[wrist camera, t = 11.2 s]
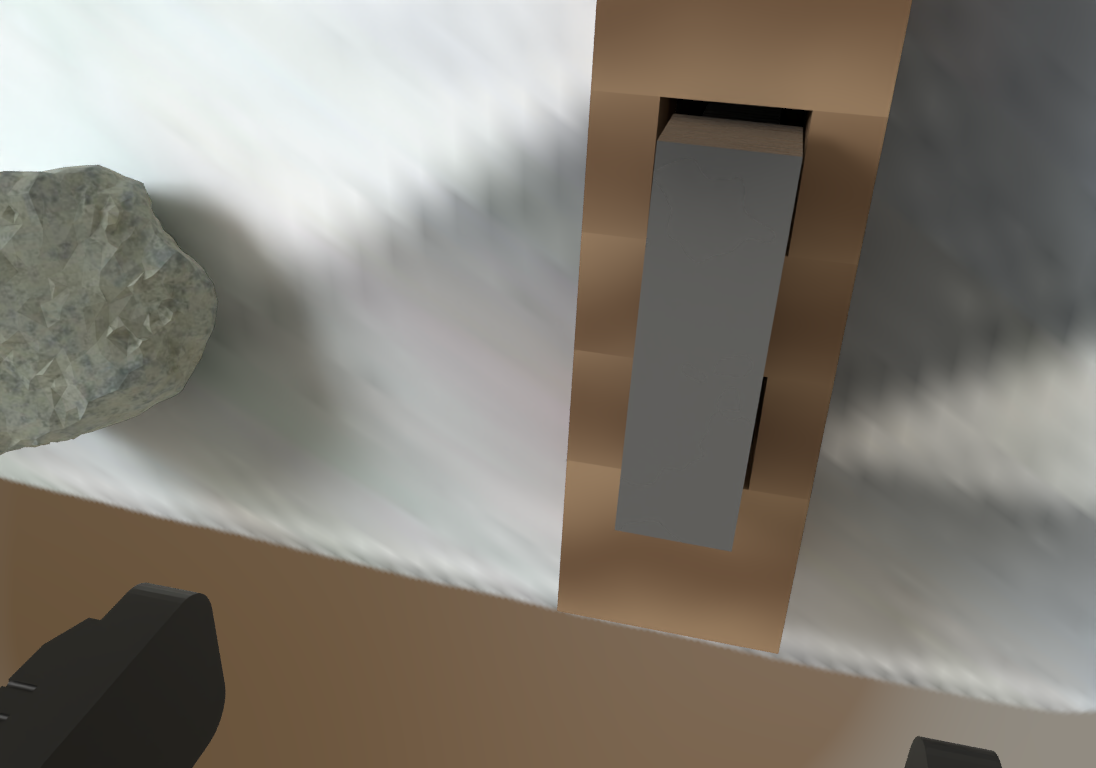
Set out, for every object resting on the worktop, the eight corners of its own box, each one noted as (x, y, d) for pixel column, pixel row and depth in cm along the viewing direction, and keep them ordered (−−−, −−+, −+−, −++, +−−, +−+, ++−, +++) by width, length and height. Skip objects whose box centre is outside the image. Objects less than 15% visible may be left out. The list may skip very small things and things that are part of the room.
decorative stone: (-72, 391, 39) (-102, 589, 32) (-289, 156, 31) (-393, 350, 24) (246, 276, 41) (286, 440, 34) (119, 26, 33) (136, 171, 26)
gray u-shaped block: (694, 79, 27) (657, 140, 20) (802, 90, 26) (802, 156, 20) (655, 392, 32) (614, 530, 25) (747, 406, 31) (731, 551, 24)
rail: (639, -167, 25) (608, -180, 21) (922, -156, 23) (946, -167, 20) (584, 531, 35) (557, 611, 31) (780, 565, 33) (778, 653, 30)
